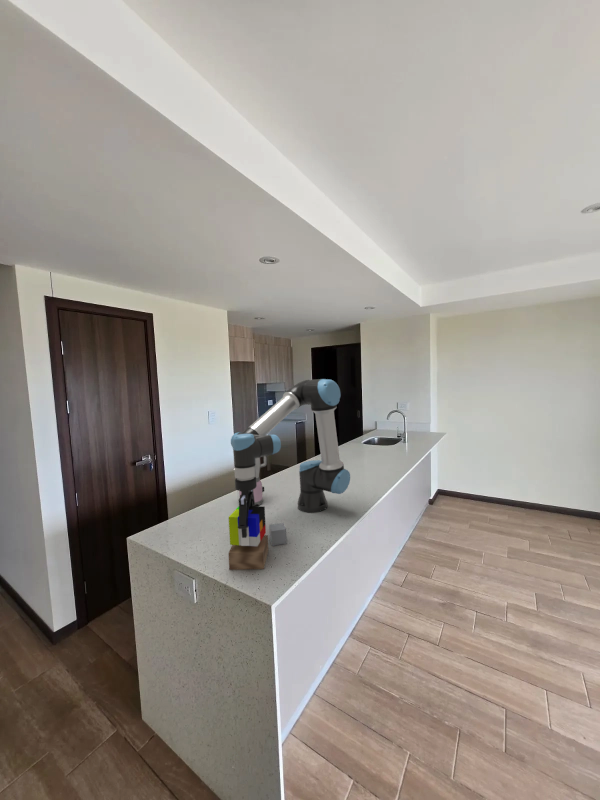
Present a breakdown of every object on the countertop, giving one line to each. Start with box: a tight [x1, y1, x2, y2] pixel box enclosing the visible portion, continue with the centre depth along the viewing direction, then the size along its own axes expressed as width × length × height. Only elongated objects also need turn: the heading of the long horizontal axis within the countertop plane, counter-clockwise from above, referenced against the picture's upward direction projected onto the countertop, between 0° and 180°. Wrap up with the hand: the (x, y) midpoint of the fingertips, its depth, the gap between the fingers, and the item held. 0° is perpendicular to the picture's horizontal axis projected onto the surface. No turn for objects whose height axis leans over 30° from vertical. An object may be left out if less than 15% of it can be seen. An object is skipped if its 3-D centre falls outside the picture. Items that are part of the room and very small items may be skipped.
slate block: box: [268, 522, 288, 547], centre depth 129 cm, size 6×6×6 cm
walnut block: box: [228, 534, 269, 571], centre depth 116 cm, size 12×12×6 cm
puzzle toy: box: [228, 505, 267, 546], centre depth 115 cm, size 10×10×10 cm
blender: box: [238, 456, 268, 506], centre depth 169 cm, size 16×12×32 cm
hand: (248, 537), depth 116 cm, fingers closed on puzzle toy, 11 cm apart
